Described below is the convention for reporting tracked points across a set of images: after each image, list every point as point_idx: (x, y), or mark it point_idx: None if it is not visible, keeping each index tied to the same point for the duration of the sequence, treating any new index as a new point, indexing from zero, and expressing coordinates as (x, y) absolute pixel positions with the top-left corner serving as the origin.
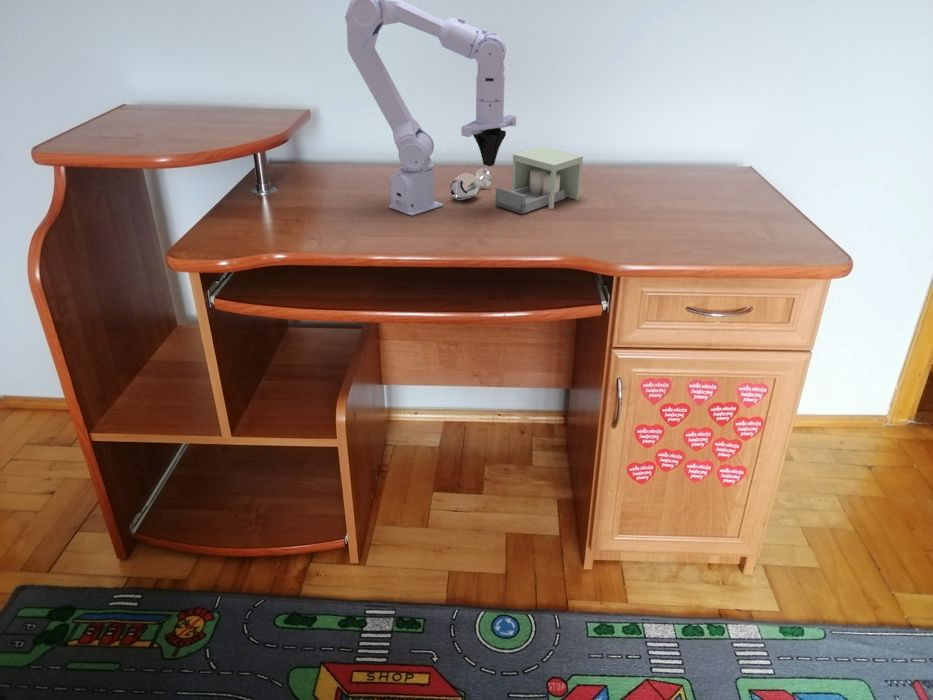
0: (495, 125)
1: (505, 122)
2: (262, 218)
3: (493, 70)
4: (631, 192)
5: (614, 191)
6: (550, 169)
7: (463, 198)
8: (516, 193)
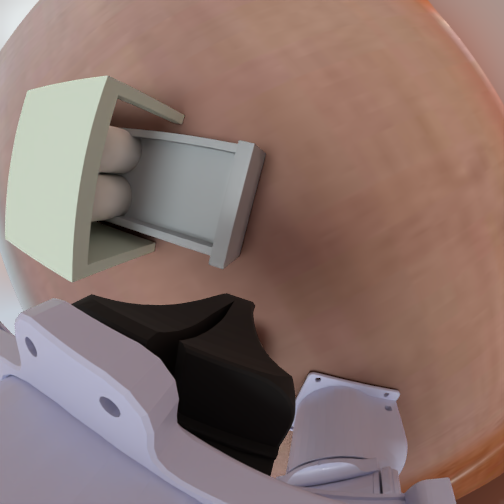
0: (171, 458)
1: (1, 347)
2: None
3: None
4: (54, 75)
5: None
6: (115, 96)
7: (262, 346)
8: (238, 177)
